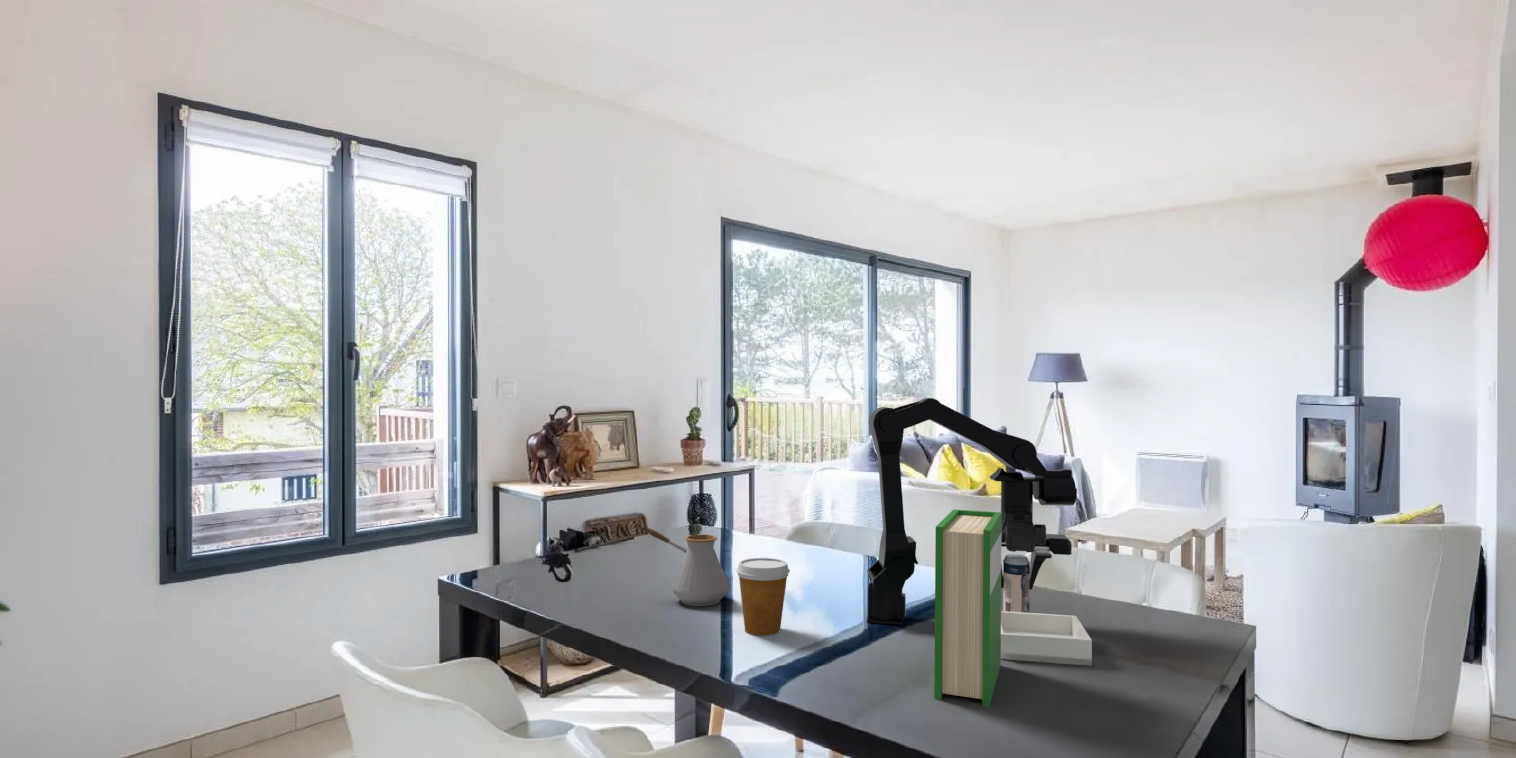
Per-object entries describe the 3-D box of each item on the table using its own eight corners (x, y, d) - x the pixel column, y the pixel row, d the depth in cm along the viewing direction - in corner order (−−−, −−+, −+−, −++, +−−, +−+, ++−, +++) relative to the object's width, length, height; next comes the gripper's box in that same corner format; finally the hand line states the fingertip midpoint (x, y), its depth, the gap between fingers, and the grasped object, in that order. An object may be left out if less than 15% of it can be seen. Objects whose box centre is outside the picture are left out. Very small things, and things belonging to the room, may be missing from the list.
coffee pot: (737, 597, 166) (737, 524, 166) (715, 611, 155) (716, 533, 156) (645, 587, 174) (645, 517, 174) (618, 600, 163) (618, 526, 163)
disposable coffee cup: (800, 630, 144) (800, 562, 144) (764, 642, 137) (764, 571, 137) (761, 619, 150) (761, 554, 150) (724, 630, 143) (725, 562, 143)
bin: (998, 658, 129) (999, 633, 129) (992, 633, 143) (992, 610, 143) (1091, 665, 127) (1091, 640, 127) (1075, 638, 140) (1075, 615, 140)
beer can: (1031, 625, 148) (1031, 559, 148) (1004, 623, 149) (1004, 558, 149) (1027, 618, 153) (1028, 554, 153) (1001, 616, 154) (1001, 553, 154)
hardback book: (989, 706, 110) (990, 530, 110) (934, 698, 113) (935, 526, 113) (1000, 665, 126) (1001, 512, 127) (952, 659, 129) (953, 509, 129)
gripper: (967, 509, 145) (966, 596, 145) (1077, 513, 141) (1076, 602, 141) (964, 500, 156) (964, 581, 156) (1066, 504, 152) (1066, 587, 152)
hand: (1016, 588), depth 151 cm, fingers closed on beer can, 5 cm apart
